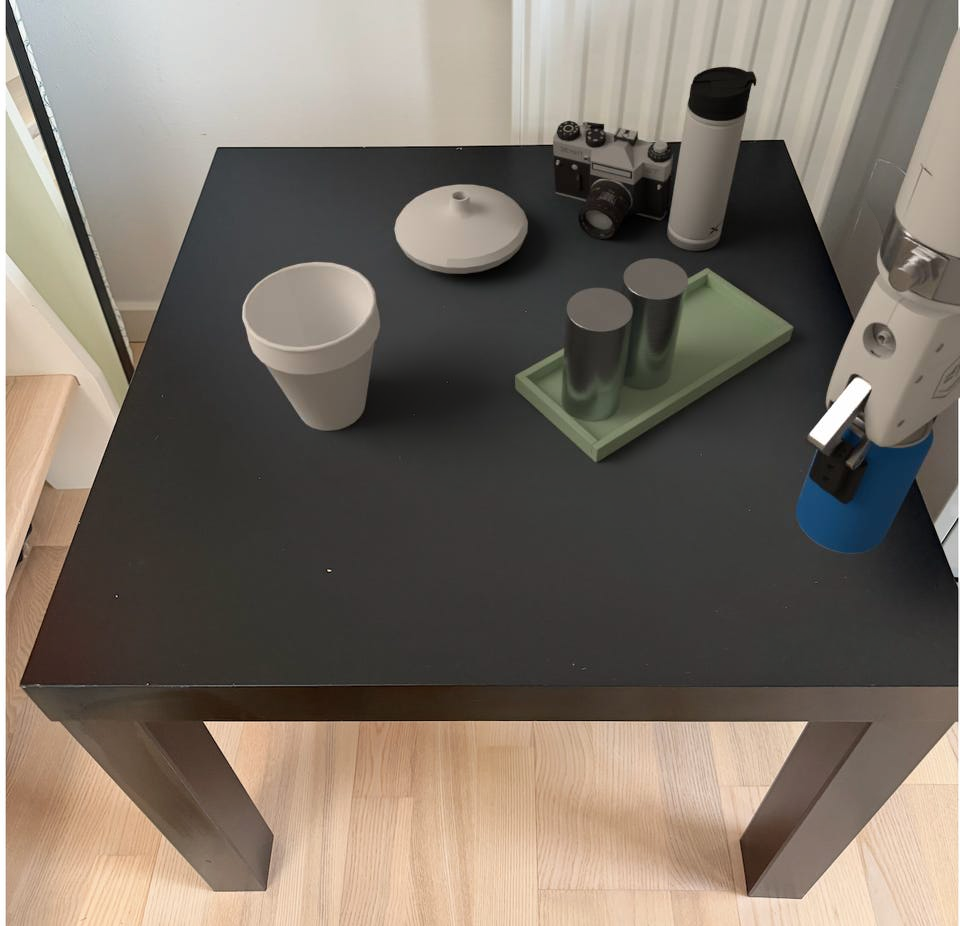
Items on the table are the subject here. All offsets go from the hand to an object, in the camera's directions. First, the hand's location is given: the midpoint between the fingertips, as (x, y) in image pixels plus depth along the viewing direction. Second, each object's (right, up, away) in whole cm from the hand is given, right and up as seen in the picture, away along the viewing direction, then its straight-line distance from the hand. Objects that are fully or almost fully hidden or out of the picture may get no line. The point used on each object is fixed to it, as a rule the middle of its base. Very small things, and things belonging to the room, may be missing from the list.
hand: (865, 462), depth 62 cm
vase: (-29, +26, +47) cm, 61 cm away
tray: (-8, +10, +34) cm, 36 cm away
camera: (-11, +30, +50) cm, 60 cm away
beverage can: (0, -5, +6) cm, 7 cm away
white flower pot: (-42, +6, +31) cm, 52 cm away
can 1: (-15, +6, +30) cm, 34 cm away
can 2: (-10, +10, +32) cm, 35 cm away
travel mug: (-1, +27, +47) cm, 55 cm away
